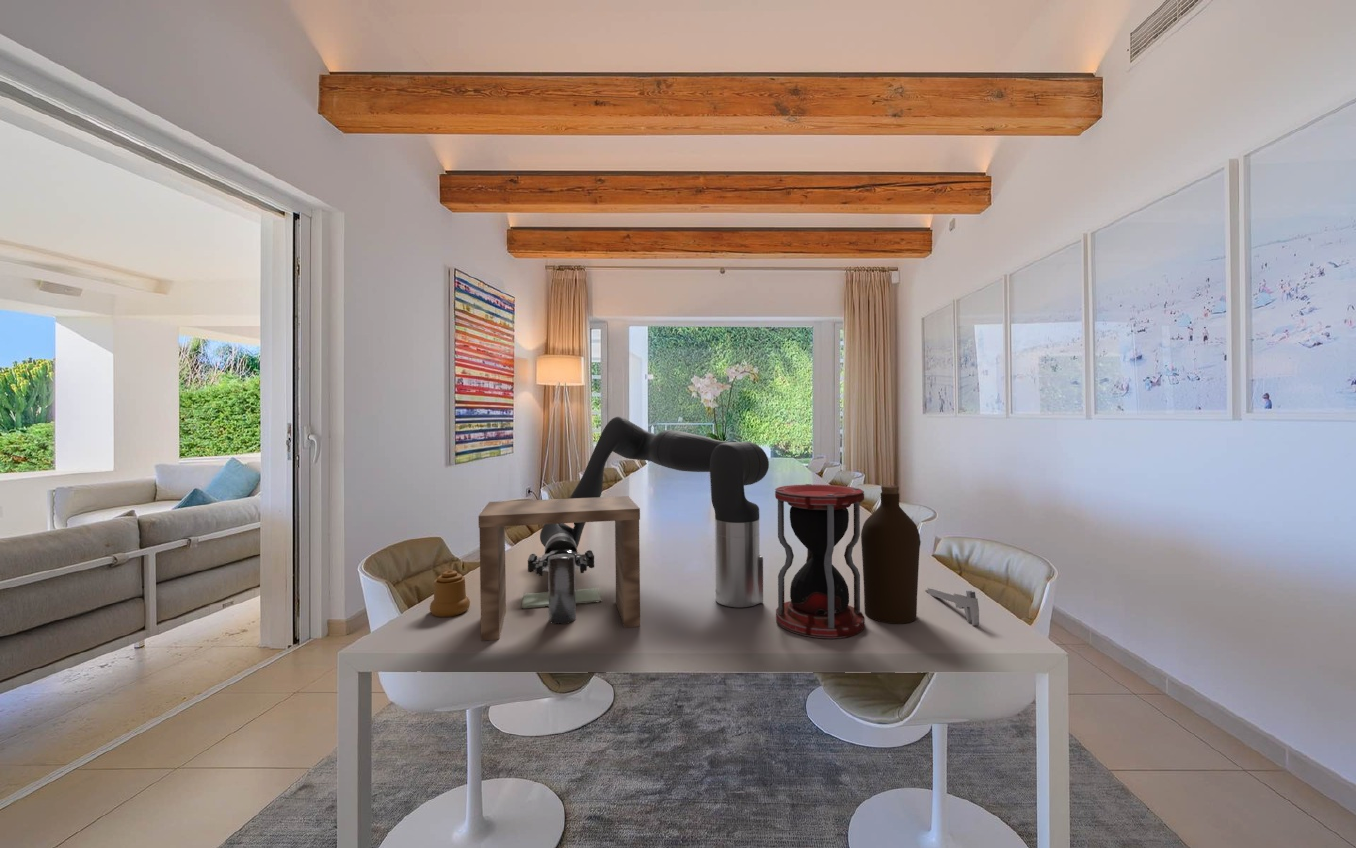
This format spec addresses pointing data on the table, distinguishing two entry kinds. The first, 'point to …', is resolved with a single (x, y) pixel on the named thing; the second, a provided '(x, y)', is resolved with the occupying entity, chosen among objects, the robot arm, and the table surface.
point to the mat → (543, 598)
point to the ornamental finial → (449, 595)
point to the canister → (561, 588)
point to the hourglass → (819, 561)
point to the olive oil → (890, 561)
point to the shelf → (556, 513)
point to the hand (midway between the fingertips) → (561, 570)
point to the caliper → (961, 603)
